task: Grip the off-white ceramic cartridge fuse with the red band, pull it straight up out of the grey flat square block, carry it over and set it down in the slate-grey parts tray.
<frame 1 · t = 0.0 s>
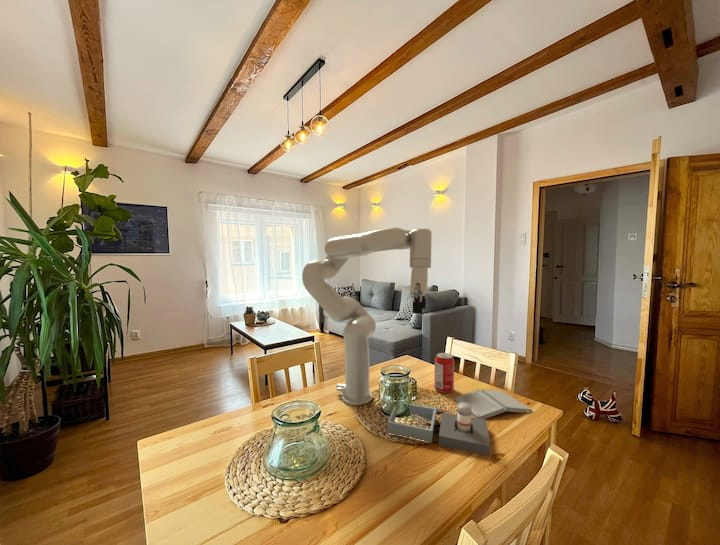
hand: (419, 310, 107), 37 cm above the table, tool pointing down, fingers open, 9 cm apart
fuse: (463, 421, 93), in the grey flat square block
soda can: (443, 390, 125), on the table
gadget: (491, 407, 113), on the table
grey flat square block: (463, 436, 93), on the table
parts tray: (412, 426, 99), on the table
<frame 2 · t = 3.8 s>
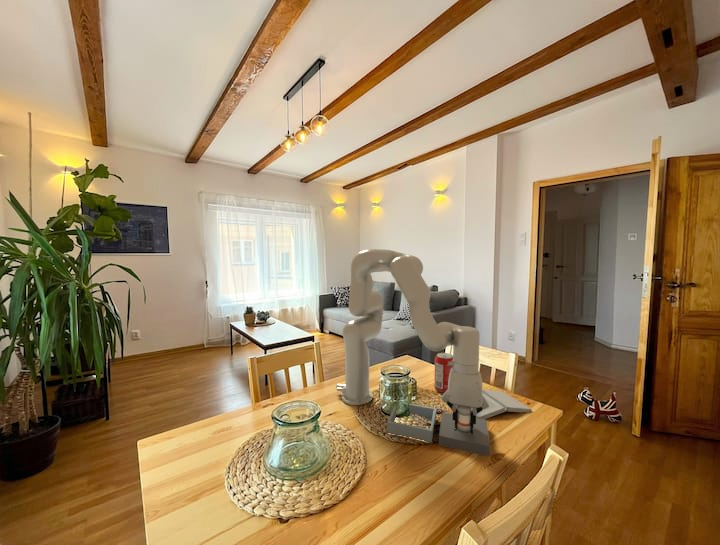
hand: (463, 423, 93), 4 cm above the table, tool pointing down, fingers closed on fuse, 4 cm apart
fuse: (464, 421, 93), in the grey flat square block, touching gripper
everything else where it was.
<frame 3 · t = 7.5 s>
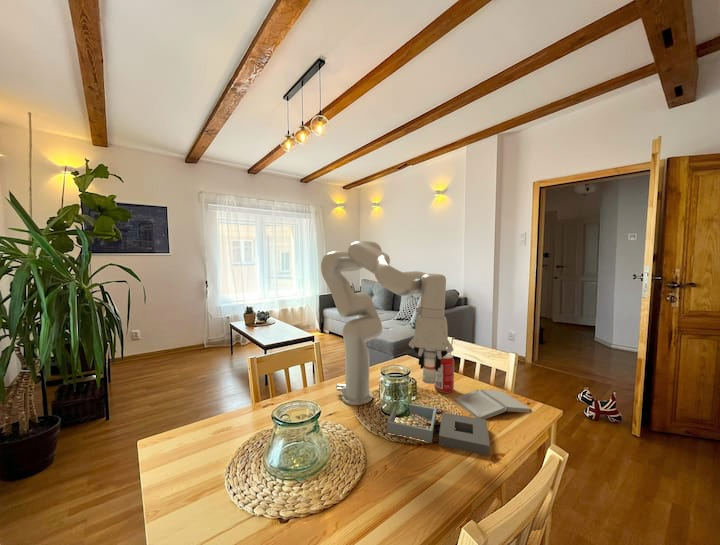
hand: (429, 367, 96), 21 cm above the table, tool pointing down, fingers closed on fuse, 4 cm apart
fuse: (429, 365, 96), point 21 cm above the table, touching gripper
everything else where it was.
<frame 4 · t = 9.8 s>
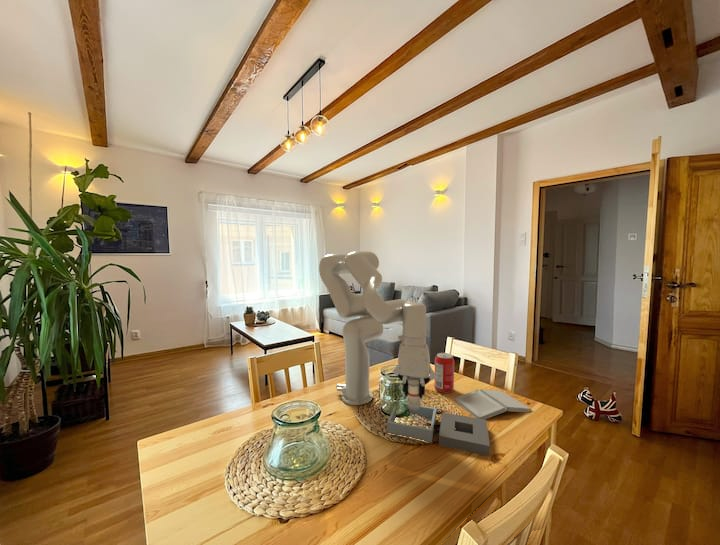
hand: (413, 394, 98), 11 cm above the table, tool pointing down, fingers closed on fuse, 4 cm apart
fuse: (413, 392, 98), point 12 cm above the table, touching gripper
everything else where it was.
when the fingers open (7 cm above the table, at t = 11.4 s): fuse drops 2 cm, resting on parts tray.
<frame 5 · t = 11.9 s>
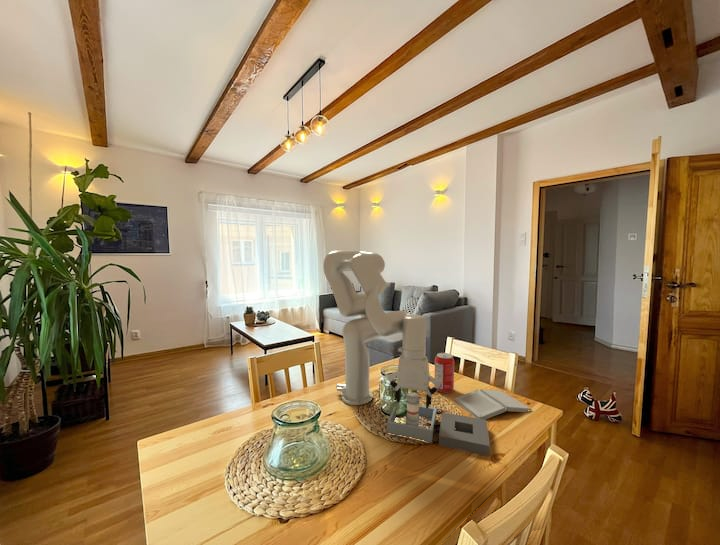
hand: (413, 403, 98), 8 cm above the table, tool pointing down, fingers open, 9 cm apart
fuse: (412, 410, 98), in the parts tray, point 6 cm above the table
everything else where it was.
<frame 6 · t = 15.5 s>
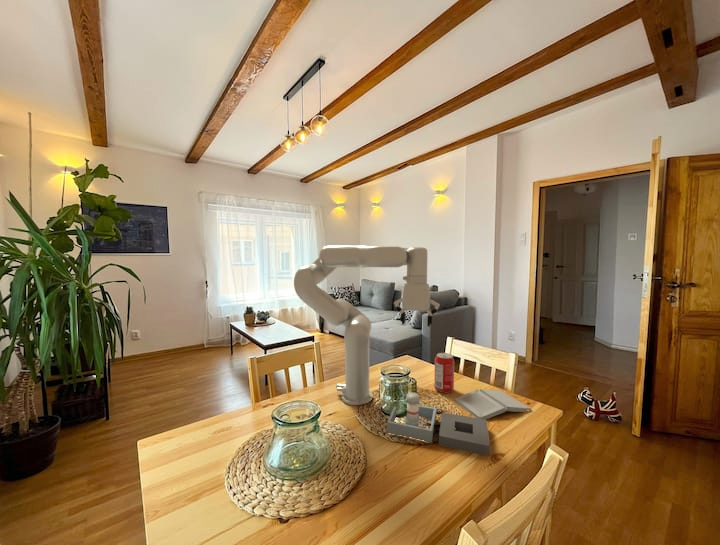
hand: (416, 324, 113), 30 cm above the table, tool pointing down, fingers open, 9 cm apart
nothing on the table moved.
at the end: fuse inside the target area on the parts tray (0.1 cm from its centre), point 5.6 cm above the parts tray's base; the gripper is holding nothing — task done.
